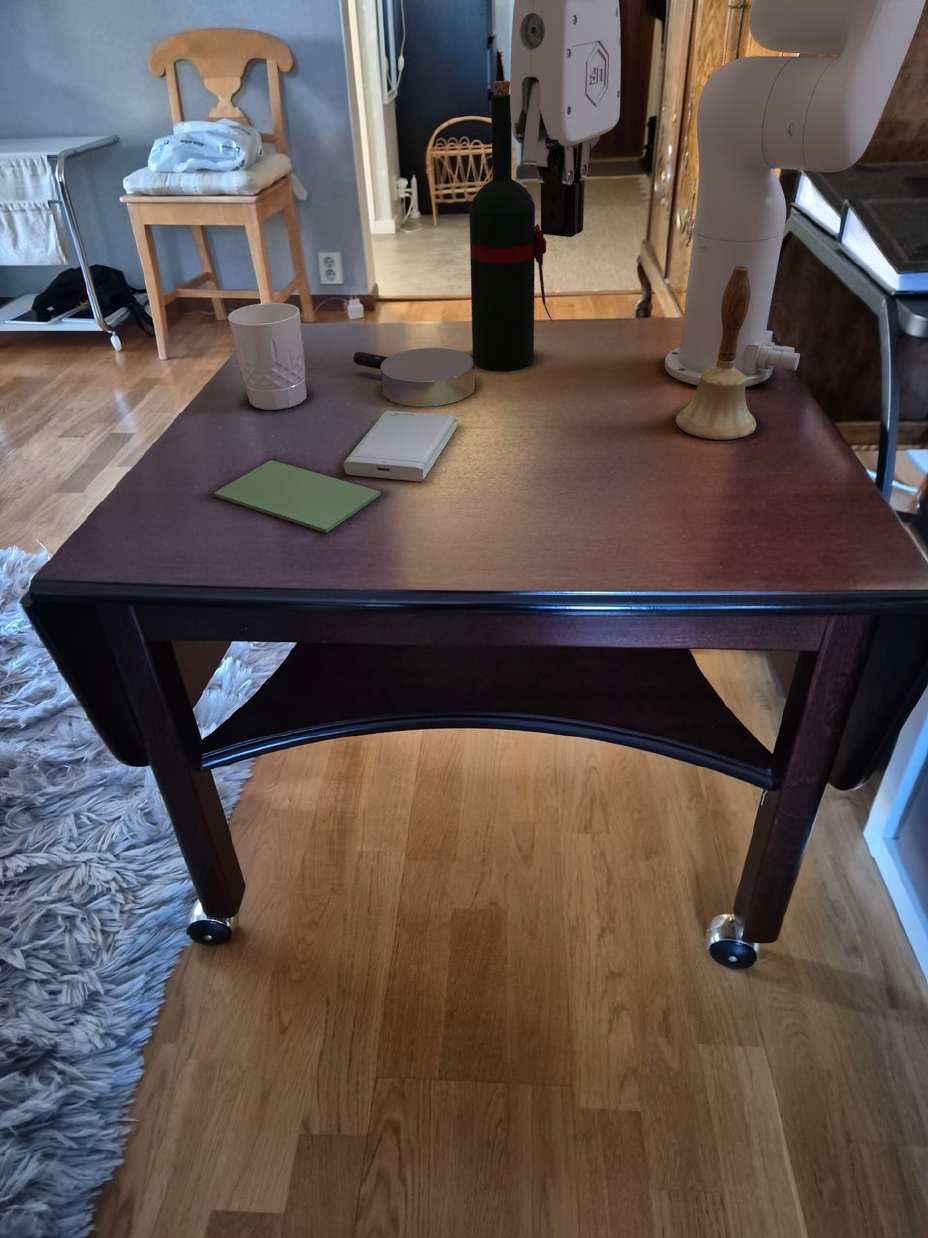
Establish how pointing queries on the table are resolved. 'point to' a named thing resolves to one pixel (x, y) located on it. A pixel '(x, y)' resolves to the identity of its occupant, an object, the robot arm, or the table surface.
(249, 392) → the white cup
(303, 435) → the table surface
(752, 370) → the robot arm
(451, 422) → the hard drive
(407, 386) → the pan
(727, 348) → the hand bell
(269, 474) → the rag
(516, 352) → the wine bottle
